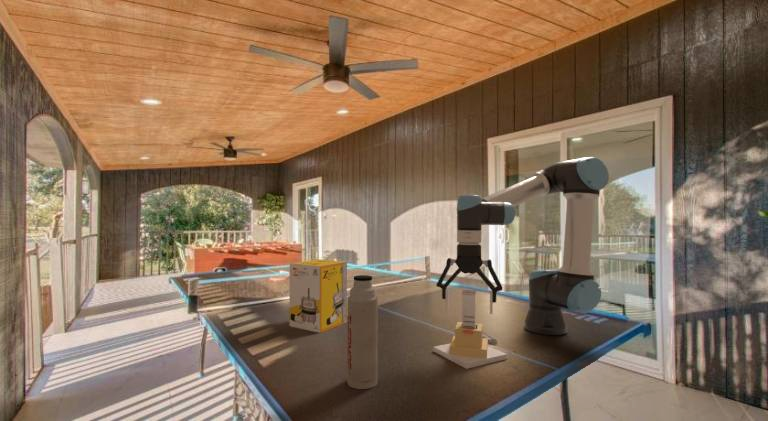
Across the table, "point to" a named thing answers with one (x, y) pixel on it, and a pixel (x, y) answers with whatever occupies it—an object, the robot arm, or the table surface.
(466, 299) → the column
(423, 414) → the table surface
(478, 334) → the stand
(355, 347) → the thermos bottle
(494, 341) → the adjustable wrench
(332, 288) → the packaging box
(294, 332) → the table surface
